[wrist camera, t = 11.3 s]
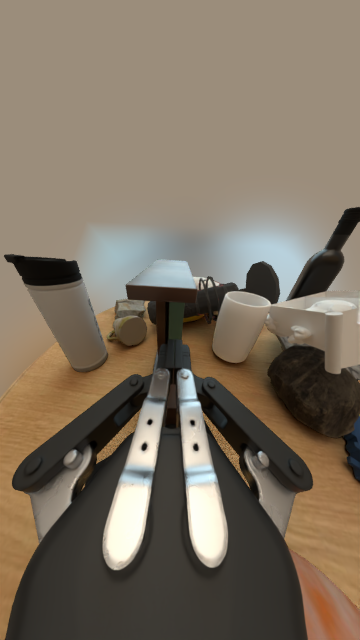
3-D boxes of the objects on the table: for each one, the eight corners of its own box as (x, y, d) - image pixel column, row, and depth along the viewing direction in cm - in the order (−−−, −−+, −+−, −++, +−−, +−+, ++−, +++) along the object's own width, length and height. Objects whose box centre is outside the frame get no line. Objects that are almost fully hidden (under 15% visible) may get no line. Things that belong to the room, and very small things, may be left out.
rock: (317, 454, 16) (374, 399, 12) (248, 380, 25) (267, 337, 22) (360, 432, 19) (416, 383, 15) (284, 374, 29) (306, 335, 25)
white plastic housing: (310, 291, 25) (310, 326, 27) (250, 305, 26) (254, 339, 27) (443, 289, 13) (430, 356, 14) (322, 318, 13) (322, 380, 15)
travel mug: (63, 368, 25) (-12, 253, 14) (92, 346, 30) (54, 251, 20) (88, 378, 23) (26, 258, 13) (114, 353, 29) (85, 254, 18)
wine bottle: (292, 329, 42) (369, 211, 26) (295, 338, 37) (388, 204, 22) (272, 323, 44) (331, 212, 28) (273, 331, 40) (342, 205, 24)
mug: (129, 323, 39) (139, 301, 34) (141, 350, 36) (155, 331, 30) (101, 326, 34) (109, 300, 28) (112, 359, 30) (123, 337, 25)
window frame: (179, 425, 18) (198, 288, 8) (148, 424, 18) (124, 284, 8) (179, 354, 30) (186, 261, 19) (160, 354, 29) (157, 259, 19)
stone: (141, 304, 51) (140, 292, 48) (153, 317, 43) (152, 304, 40) (109, 310, 45) (106, 297, 43) (117, 327, 37) (113, 312, 35)
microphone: (262, 324, 36) (161, 345, 38) (243, 290, 43) (158, 309, 45) (292, 287, 24) (139, 321, 26) (258, 249, 31) (141, 278, 33)
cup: (232, 339, 35) (250, 290, 28) (254, 364, 28) (286, 306, 21) (204, 343, 33) (215, 291, 26) (220, 371, 26) (242, 310, 19)
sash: (179, 365, 20) (186, 284, 14) (168, 364, 20) (169, 283, 14) (179, 340, 26) (184, 273, 19) (170, 340, 25) (172, 272, 19)
